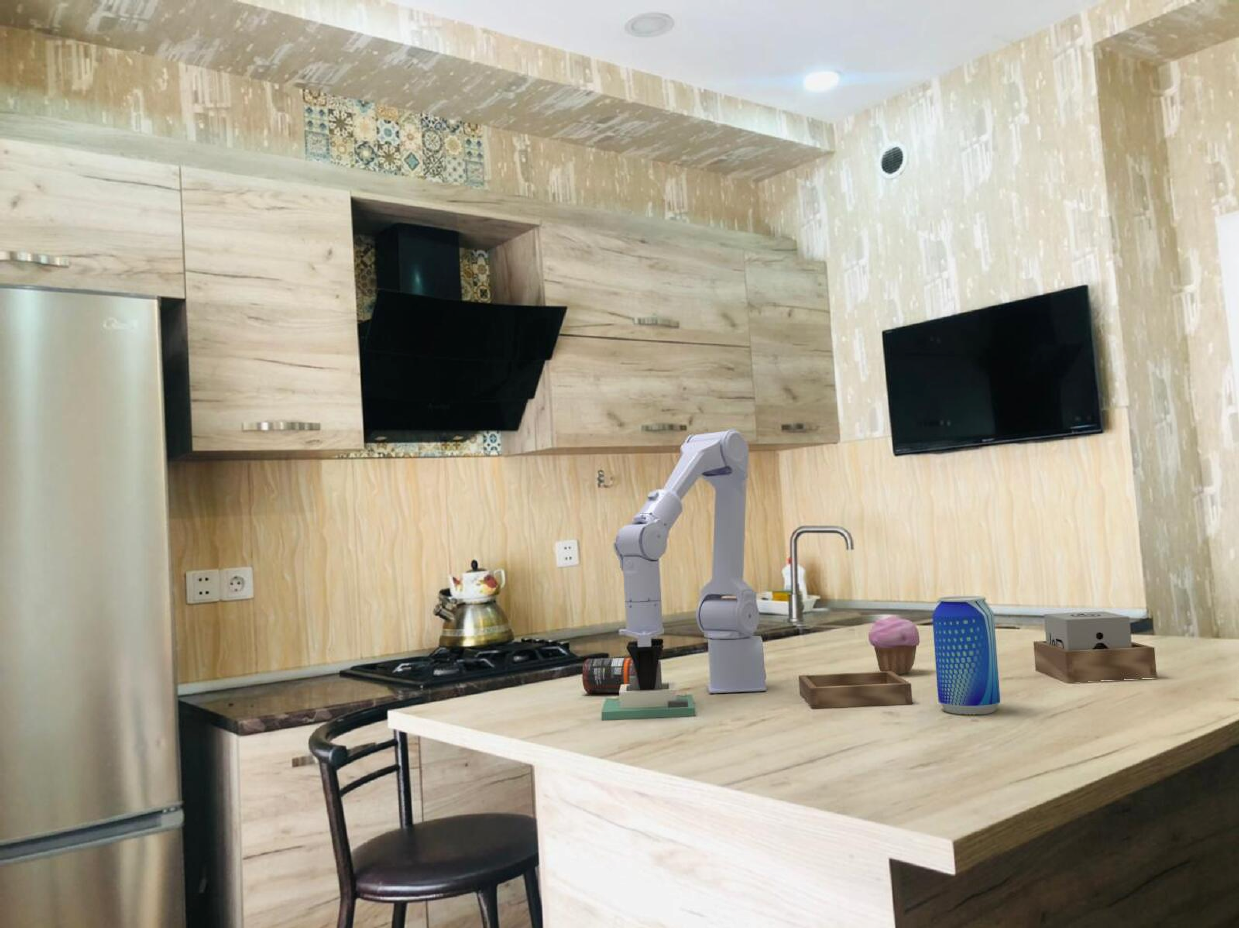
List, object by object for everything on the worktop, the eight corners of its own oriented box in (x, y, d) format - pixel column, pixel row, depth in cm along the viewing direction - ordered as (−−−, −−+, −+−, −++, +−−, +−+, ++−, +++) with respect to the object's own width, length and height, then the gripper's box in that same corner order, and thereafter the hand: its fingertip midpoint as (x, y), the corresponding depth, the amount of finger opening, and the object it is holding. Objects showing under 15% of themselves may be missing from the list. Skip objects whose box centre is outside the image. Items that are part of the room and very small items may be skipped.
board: (692, 701, 164) (692, 689, 164) (695, 716, 152) (694, 702, 152) (606, 705, 164) (605, 693, 164) (601, 720, 152) (601, 706, 152)
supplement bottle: (591, 688, 181) (653, 688, 178) (582, 697, 175) (646, 697, 172) (589, 654, 180) (651, 654, 178) (580, 663, 175) (644, 662, 172)
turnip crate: (892, 689, 165) (891, 671, 165) (912, 704, 152) (911, 683, 152) (799, 694, 165) (798, 675, 166) (811, 708, 153) (810, 688, 153)
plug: (663, 699, 160) (660, 660, 160) (663, 703, 156) (660, 664, 156) (631, 700, 160) (628, 662, 160) (630, 705, 156) (628, 666, 156)
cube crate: (1117, 666, 176) (1115, 637, 176) (1157, 679, 162) (1154, 647, 162) (1035, 670, 176) (1033, 641, 177) (1067, 683, 162) (1065, 651, 163)
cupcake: (862, 672, 185) (859, 617, 185) (905, 668, 187) (902, 613, 187) (887, 679, 176) (883, 620, 176) (931, 674, 178) (927, 617, 179)
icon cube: (1048, 672, 174) (1044, 614, 174) (1108, 670, 173) (1103, 611, 174) (1070, 682, 164) (1066, 619, 164) (1134, 679, 163) (1129, 616, 164)
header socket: (675, 697, 162) (674, 682, 162) (676, 706, 154) (675, 690, 154) (621, 699, 162) (621, 684, 162) (620, 708, 154) (619, 692, 154)
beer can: (1010, 707, 145) (1002, 595, 146) (986, 718, 139) (977, 600, 140) (954, 703, 151) (946, 595, 152) (928, 712, 145) (920, 600, 146)
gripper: (619, 598, 166) (623, 682, 165) (615, 605, 152) (620, 697, 151) (662, 596, 166) (666, 680, 165) (662, 603, 152) (667, 695, 151)
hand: (647, 688), depth 158 cm, fingers closed on plug, 4 cm apart
